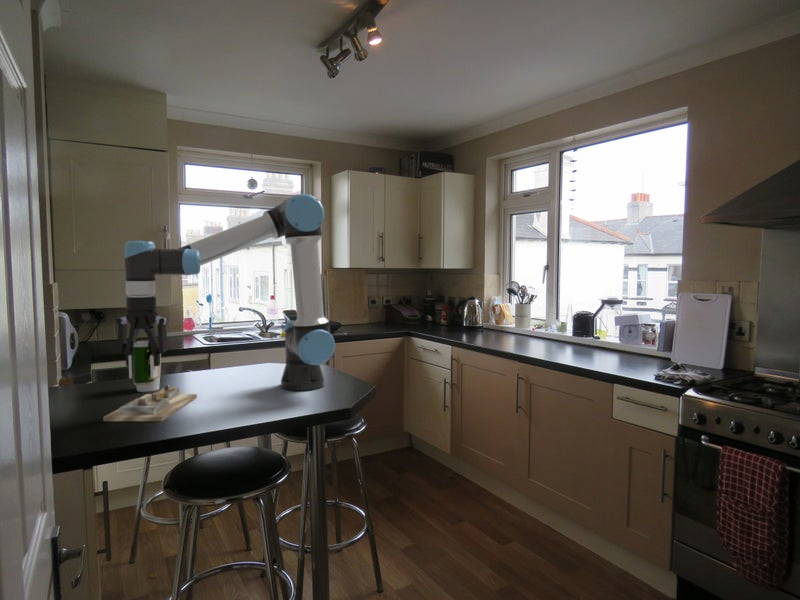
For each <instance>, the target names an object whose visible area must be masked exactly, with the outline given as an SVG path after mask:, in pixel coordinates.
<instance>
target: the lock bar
mask: <svg viewBox="0 0 800 600" xmlns="http://www.w3.org/2000/svg"><path fill="white" fill-rule="evenodd" d="M163 388H164V389H163ZM163 388H162V389H163V390H162V391H160V392H158V393H156V401H157V399H158V398H166V397H165V394H167V393H169V392H170V391H172V390H174V389H176V386H171V385H170V384H167V385H164V387H163Z"/></svg>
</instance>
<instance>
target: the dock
mask: <svg viewBox="0 0 800 600" xmlns="http://www.w3.org/2000/svg"><path fill="white" fill-rule="evenodd" d="M163 389H164V387H163V388H161V389H158V390H156V391H154V392H153V393H146V394H144V395H142V396H141V397H136V398H135V399H133V400H132V401H131V400H130V401H129V402H127V403H125V404H123V405H122V406H120V407H119V408H118V409H116V410H114V411H112V412H110V413H108V414H106V415H104V416H103V419H102V421H103V422H164V420H166V419H168V418H169V417H171V416H173V415H174V414H175V413H176V412H178V411H180V410H181V409H183V408H184V407H186V406H187V405H188V404H190V403H191V402H193V401H195V400H196V399H197V398H198V395H197V393H196V394H195V393H194V394H193V393H181V392H180V387H179V388H178V387H175V389H174V390H172V391H170V392H169V393H167V394H165V397H166V398H158V399H157V401H156V393H158V392H160V391H162V390H163Z"/></svg>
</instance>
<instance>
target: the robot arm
mask: <svg viewBox="0 0 800 600" xmlns="http://www.w3.org/2000/svg"><path fill="white" fill-rule="evenodd" d="M324 219H325V209H324V206H323V205H322V203H321V202H320V200H319V199H318V198H317V197H315V196H313V195H311V194H308V193H299V194H295V195H293V196H291V197H289V198H288V199H286V200H284V201H283V202H281V203H279V204H278V205H277V206H275V207H272V208H271V209H268V210H265V211H264V212H263V214H262V215H261V216H259V217H256V218H253V219H251V220H249V221H246V222H243V223H240V224H238V225H236V226H232V227H230V228H226V229H225V230H222V231H220V232H217V233H215V234H212V235H209V236H207V237H204V238H202V239H199V240H197V241H194V242H191V243H188V244H187V245H183V246H181V247H179V248H157V247H156V246H155V242H153V241H149V240H146V241H144V240H129V241H127V242H126V243H125V244H124V271H125V273H124V276H125V295H126V296H127V297H126V298H125V299H126V300H125V302H126V303H125V305H126V311H127V312H126V314H125V316H123V317H117V318H116V319H115V322H116V325H117V343H118V344H117V352H118V353H120V354H121V353H122V354H124V355H125V365H126V367H128V378H129V379H133V359H132V345H133V342H136V341H137V339H138V335H139V332H140V330H144V332H145V333H146V336H147V341H149V343H150V346H151V349H152V353H153V354H152V355H150V371H151V378H155V377H157V376H158V366H159V365H160V354H161V355H162V354H163V353H166V352H167V351H168V337H167V326H166V325H167V322H168V317H162V316H159V315H158V313H157V298H156V296H154V295H156V293H157V291H156V275H157V276H163V275H165V276H193V275H194V276H195V275H199V274H200V272H201V266H203V265H206V264H208V263H211V262H213V261H215V260H219V259H221V258H224V257H225V256H228V255H231V254H233V253H236V252H238V251H241V250H244V249H247V248H248V247H251V246H253V245H256V244H258V243H260V242H264V241H266V240H268V239H271V238H273V239H280V238H281V237H284V239H285V240H286V242H288V243H289V244H290V251H291V253H290V254H291V263H292V274H293V277H292V278H293V284H294V285H293V287H294V296H295V297H294V298H295V309H296V319H295V321H287V322H286V323H285V325H284V335H285V337H284V340H285V341H284V342H285V343H284V346H285V366H284V369H283V373H282V376H281V379H280V387H281V389H284V390H286V389H287V391H295V390H297V391H299V392H300V391H303V392H304V391H312V390H311V389H313V390H318V389H320V387H321V388H322V386H323V387H325V385H324V384H325V383H326V382H325V381H326V380H325V376H324V373H323V370H322V367H321V365H323V364H325V363H326V362H328V361H329V360H331V358H332V357H333V355H334V353H335V351H336V350H335V349H336V343H335V342H336V341H335V339H334V337H333V335H332V334H331V328H330V320H329V319H328V318H327V317H326V316H325V314H324V311H325V310H324V301H323V288H322V278H321V266H320V254H319V241H320V240H321V239H322V238H323V231H322V224H323V223H324ZM155 322H156V324H157V335H156V331H155V330H156V329H155V325H154V324H155ZM128 323H129V325H130V327H129V334H128ZM317 388H318V389H317ZM297 391H296V392H297Z"/></svg>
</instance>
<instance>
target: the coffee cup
mask: <svg viewBox="0 0 800 600" xmlns="http://www.w3.org/2000/svg"><path fill="white" fill-rule="evenodd" d="M161 358H162V353H161V354H160V365H159V366H158V376H157V377H155V378H154V382H153V383H152V384H149V385H142V386H138V385H135V386H136V391H137V392H141V393H147V392H149V393H150V392H156V391H159V390H160V380H161V373H162V371H161V367H162V359H161Z"/></svg>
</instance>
